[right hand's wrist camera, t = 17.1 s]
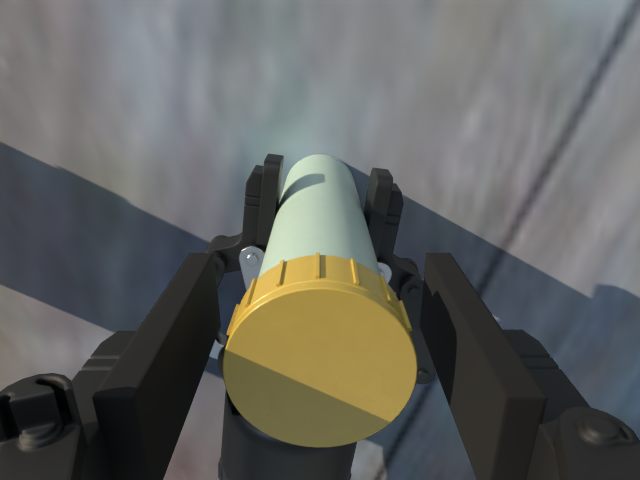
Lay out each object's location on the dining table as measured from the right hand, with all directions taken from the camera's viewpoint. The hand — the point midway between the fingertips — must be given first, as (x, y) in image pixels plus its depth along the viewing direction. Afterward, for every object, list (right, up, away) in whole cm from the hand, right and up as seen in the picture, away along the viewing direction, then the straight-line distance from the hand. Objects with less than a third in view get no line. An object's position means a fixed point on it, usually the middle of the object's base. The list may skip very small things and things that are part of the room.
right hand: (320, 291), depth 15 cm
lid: (0, -1, -4) cm, 4 cm away
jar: (0, +5, +12) cm, 13 cm away
